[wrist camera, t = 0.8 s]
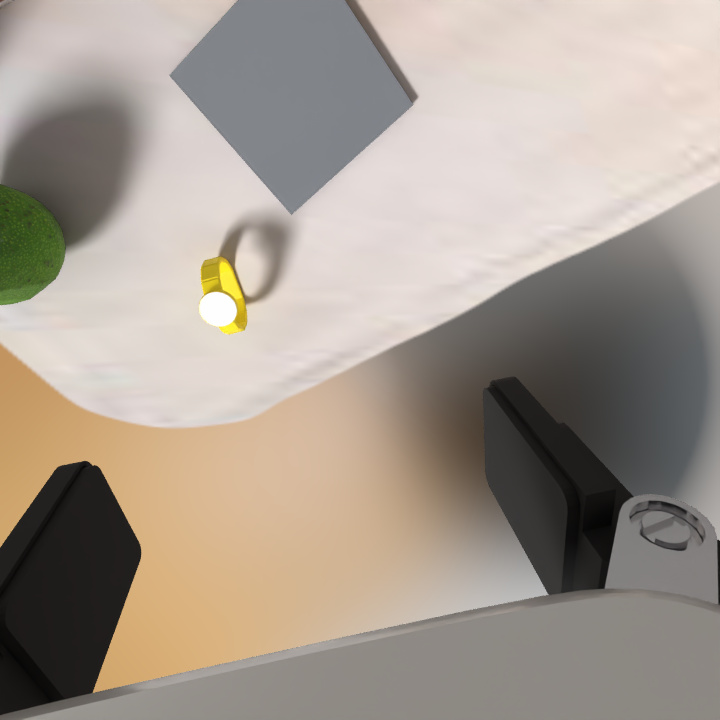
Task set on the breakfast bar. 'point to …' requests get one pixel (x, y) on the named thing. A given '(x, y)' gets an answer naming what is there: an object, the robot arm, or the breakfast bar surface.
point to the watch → (222, 297)
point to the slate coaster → (292, 90)
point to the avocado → (27, 246)
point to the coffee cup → (4, 2)
